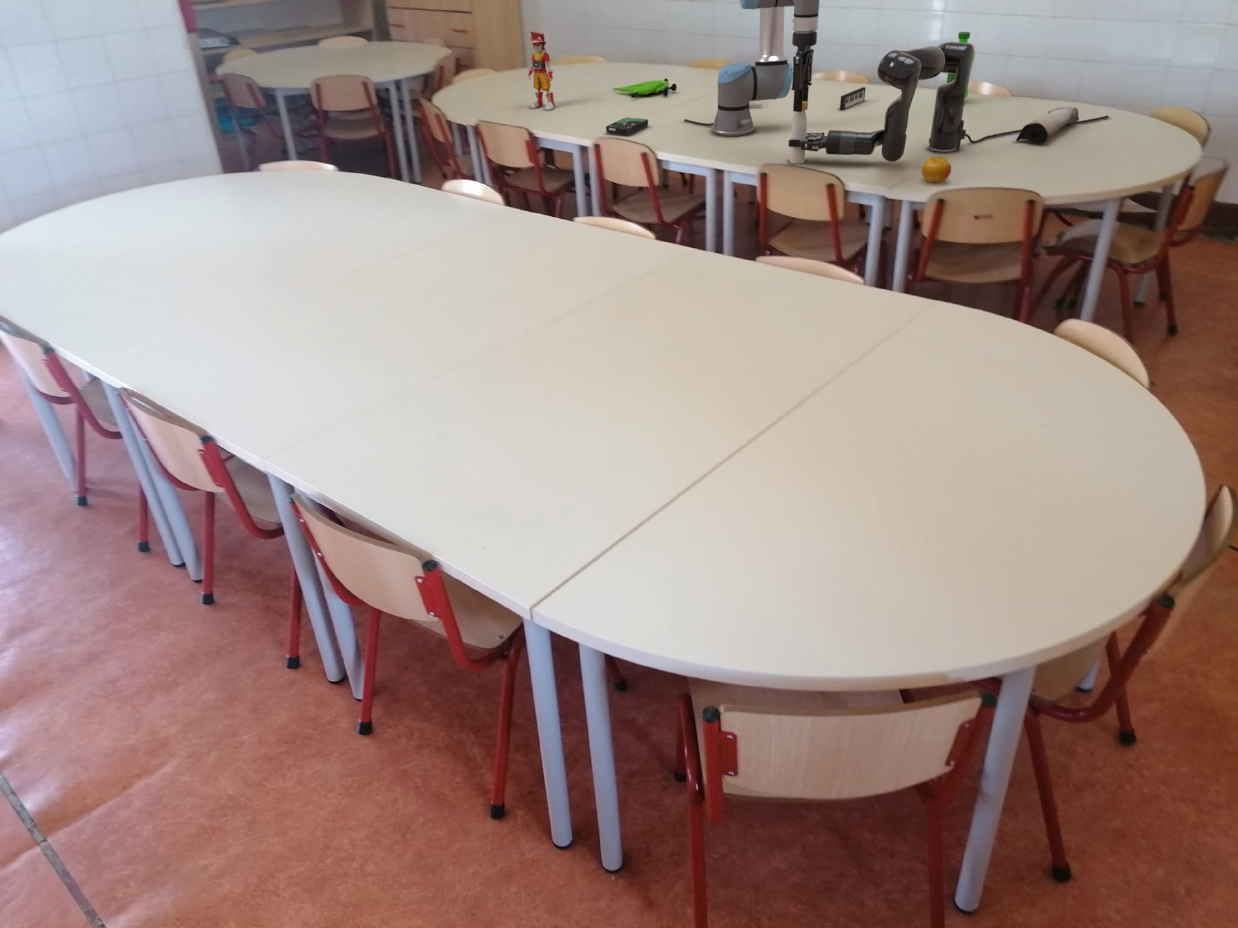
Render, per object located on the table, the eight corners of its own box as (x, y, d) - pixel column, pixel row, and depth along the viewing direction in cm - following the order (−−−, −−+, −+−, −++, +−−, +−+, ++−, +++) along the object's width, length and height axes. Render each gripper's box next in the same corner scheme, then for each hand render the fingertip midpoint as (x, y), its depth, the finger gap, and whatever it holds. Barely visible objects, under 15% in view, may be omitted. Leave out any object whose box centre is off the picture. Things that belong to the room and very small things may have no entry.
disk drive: (628, 136, 338) (648, 126, 348) (628, 129, 337) (648, 118, 347) (605, 134, 343) (625, 123, 353) (605, 126, 341) (625, 116, 351)
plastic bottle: (973, 101, 354) (984, 32, 339) (955, 106, 349) (966, 36, 335) (952, 97, 361) (962, 29, 346) (934, 102, 356) (944, 33, 342)
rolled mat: (1045, 112, 324) (1070, 94, 316) (1059, 133, 324) (1084, 116, 316) (1011, 135, 307) (1037, 117, 298) (1026, 157, 307) (1052, 140, 299)
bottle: (797, 158, 305) (800, 101, 294) (807, 161, 301) (811, 103, 291) (786, 161, 302) (789, 104, 292) (797, 164, 299) (800, 106, 288)
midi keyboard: (842, 110, 354) (843, 96, 351) (839, 109, 354) (840, 96, 351) (864, 100, 364) (865, 87, 361) (861, 100, 365) (863, 87, 362)
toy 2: (686, 85, 398) (631, 84, 414) (685, 72, 395) (629, 72, 411) (651, 104, 381) (596, 103, 397) (650, 92, 378) (594, 91, 394)
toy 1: (525, 109, 381) (517, 32, 364) (534, 104, 388) (527, 28, 371) (550, 110, 377) (543, 32, 360) (559, 105, 384) (553, 28, 367)
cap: (800, 107, 295) (800, 100, 294) (810, 109, 292) (810, 102, 291) (790, 109, 293) (790, 102, 292) (800, 112, 290) (800, 105, 288)
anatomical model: (728, 79, 370) (752, 73, 369) (732, 105, 376) (756, 98, 375) (735, 87, 358) (759, 81, 357) (739, 114, 364) (763, 107, 363)
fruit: (915, 172, 274) (932, 149, 271) (916, 174, 282) (933, 152, 279) (938, 188, 273) (956, 164, 270) (939, 189, 281) (956, 167, 278)
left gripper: (802, 26, 287) (798, 102, 300) (783, 36, 274) (780, 115, 287) (825, 26, 284) (819, 103, 297) (807, 37, 271) (802, 117, 284)
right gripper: (845, 125, 297) (794, 123, 302) (840, 137, 286) (787, 135, 291) (843, 148, 301) (793, 146, 306) (838, 160, 290) (785, 158, 295)
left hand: (800, 109), depth 292 cm, fingers open, 5 cm apart
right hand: (790, 141), depth 299 cm, fingers closed on bottle, 5 cm apart
